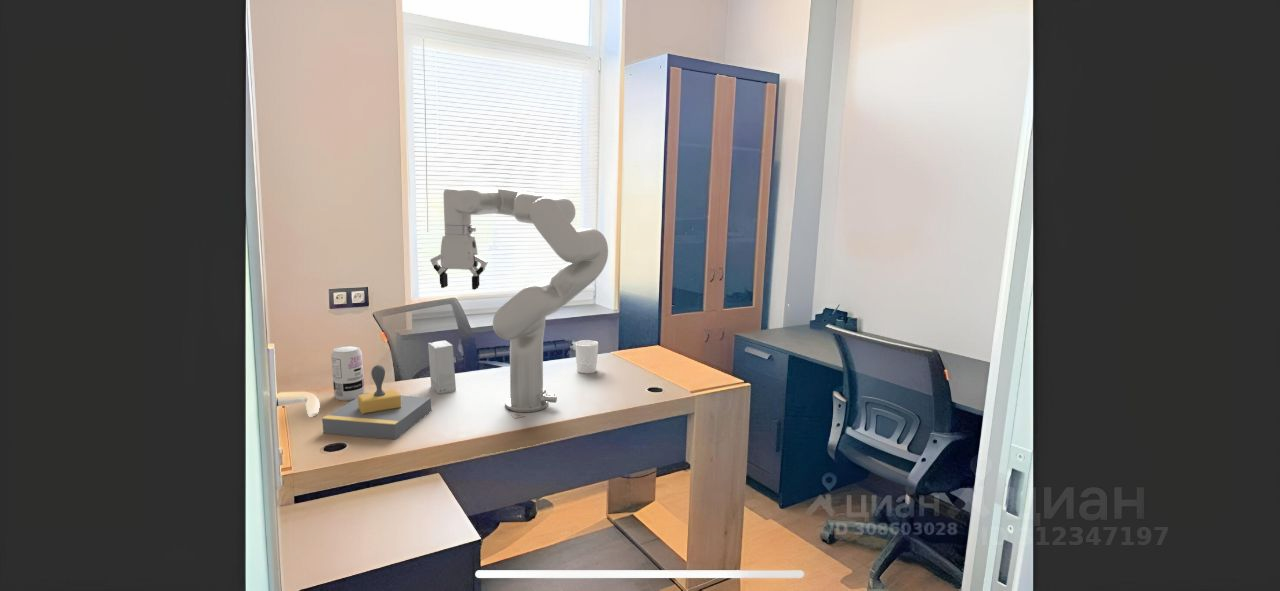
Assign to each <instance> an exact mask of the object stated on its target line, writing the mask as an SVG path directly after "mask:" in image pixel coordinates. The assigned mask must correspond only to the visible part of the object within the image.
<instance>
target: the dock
mask: <svg viewBox="0 0 1280 591" xmlns="http://www.w3.org/2000/svg"><path fill="white" fill-rule="evenodd" d="M367 393H368V392H364V394H367ZM430 411H431V412H432V411H433V410H432V398H431V397H426V396H425V397H424V396H412V395H401V408H396V409H390V410H384V411H378V412H373V413H367V414H362V413H361V411H360V410H359V406H358V398H356V399H354V400H350V401H349V402H347V403H346V404H345V405H343V406H342V407H339V408H337V409H336V410H334V411H333V412H331V413H330V414H328V415H325V416H323V417H322V419H321V421H322V431H323V432H322V433H323V434H325V433H327V435H328V434H329V435H338V436H348V437H361V438H362V437H363V438H375V439H386V440H397V439H398V438H400V437H401V436H402V435H404V434H405V433H406V432H408V431H409V430H410V429H411V428H412V427H413V426H415V425H416V424H417V423H418V422H420V421H421V420H422V419H424V418H425V417H426V416H427V415H429V414H430V413H431V412H430ZM429 412H430V413H429ZM425 415H426V416H425ZM424 416H425V417H424ZM420 419H421V420H420ZM419 420H420V421H419ZM415 423H416V424H415ZM414 424H415V425H414Z"/></svg>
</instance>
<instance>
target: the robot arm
mask: <svg viewBox="0 0 1280 591" xmlns="http://www.w3.org/2000/svg"><path fill="white" fill-rule="evenodd" d="M493 214H496V215H497V214H498V215H503V216H511V217H514V218H515V219H516V221H518V222H519V223H526V224H532V225H533V226H534V228H536V230H537V231H538V232H539V234H540V235H541V236H542V238H543V239H544V240H545V242H546V243H547V244H548V245H549V246H550V248H551V249H552V250H553V251H554V253H555V254H556V255H557V256H558V257H559V258H560V259H561V260H562V261H564V262H565V263H566V264H564V265H563V266H562V267H561V268H560V269H559V270H557V271H556V272H555V273H554V274H552V276H550V277H549V278H547V279H545V280H541V281H537V282H535V283H533V284H530V285H527V286H525V287H523V288H522V289H521V290H520V291H518V292H517V293H516V294H515V295H514V296H512V297H511V298H510V299H509V300H508V301H507V302H505V303H504V304H503V305H502V306H501V307H500V308H499V309H497V311H496V312H495V314H494V315H493V319H492V327H493V331H494V333H495V334H496V335H497V336H498V337H499V338H501V339H504V340H505V341H506V340H507V341H510V342H509V373H510V374H509V380H510V382H509V383H510V384H509V386H510V387H509V388H510V389H509V391H510V397H508V398H507V399H505V402H504V406H505V408H506V409H508V410H509V411H513V412H517V413H532V412H539V411H541V410H544V409H545V408H547V407H548V406H549V403H557V401H558V397H557V395H556V394H555V393H548V392H547V388H546V387H544V334H545V329H546V328H545V327H546V320H547V316H550V315H553V314H554V313H557V312H559V311H560V310H562V308H564V307H566V306H565V305H567V304H568V303H570V301H572V300H573V299H575V297H577V296H579V294H580V293H581V292H582V291H584V290H585V289H586V288H587V287H588V286H590V285H591V284H592V283H593V282H594V281H595V280H596V279H597V278H598V277H599V276H600V275H601V273H602V272H603V270H604V268H605V266H606V265H607V261H608V257H609V246H608V243H607V242H608V241H607V239H606V237H605V235H604V234H603V233H602V232H601V231H599V230H597V229H595V228H590V227H589V228H588V227H587V228H579V229H576V228H575V227H574V226H573V225H572V222H573V221H574V219H575V217H576V207H575V204H574V202H572V200H570V199H569V198H567V197H565V196H560V195H553V194H547V193H546V194H545V193H535V192H529V191H528V192H527V191H520V190H513V189H512V190H511V189H505V188H497V187H481V188H480V187H479V188H478V187H475V188H473V187H472V188H471V187H470V188H464V187H447V188H445V189H444V190H443V216H444V217H443V218H444V219H443V220H444V221H443V222H444V234H443V235H442V237H441V238H442V239H441V244H440V254H438V255H436V256H434V257H432V258H431V259H430V262H431V264H432V266H433V269H434V270H435V271H436V273H437V274H438V275H439V285H440V288H441V289H444V288H447V287H448V285H449V284H448V282H449V280H448V273H447V271H448V270H462V271H463V270H465V271H467V270H469V271H470V273H471V274H472V276H471V289H472V290H474V291H475V290H477V289H479V287H480V275H481V274H482V273H483V272H484V271H485V270H486V267H487V265H488V262H489V261H487V260H486V259H484V258H483V257H481V256H479V255H478V248H477V247H478V246H477V242H476V236H475V235H473V233H475V232H476V231H477V229H476V227H473V225H472V216H479V215H493ZM439 261H440V264H439ZM479 263H480V266H479ZM478 266H479V268H478Z"/></svg>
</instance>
